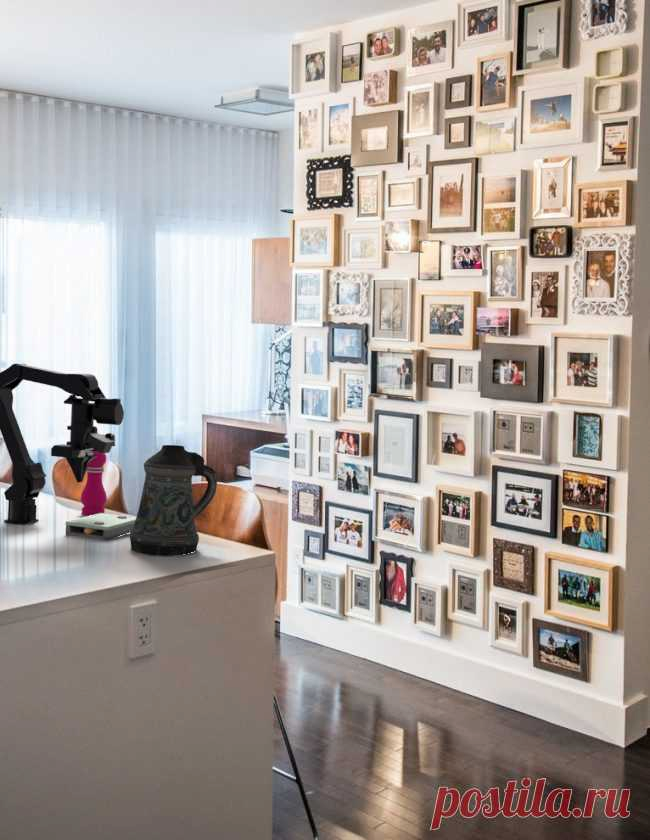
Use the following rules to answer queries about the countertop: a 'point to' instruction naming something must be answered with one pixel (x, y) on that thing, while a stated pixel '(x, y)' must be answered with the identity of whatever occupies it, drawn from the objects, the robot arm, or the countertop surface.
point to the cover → (102, 521)
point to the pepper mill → (94, 487)
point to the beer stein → (170, 503)
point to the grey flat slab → (98, 532)
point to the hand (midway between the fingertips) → (79, 482)
